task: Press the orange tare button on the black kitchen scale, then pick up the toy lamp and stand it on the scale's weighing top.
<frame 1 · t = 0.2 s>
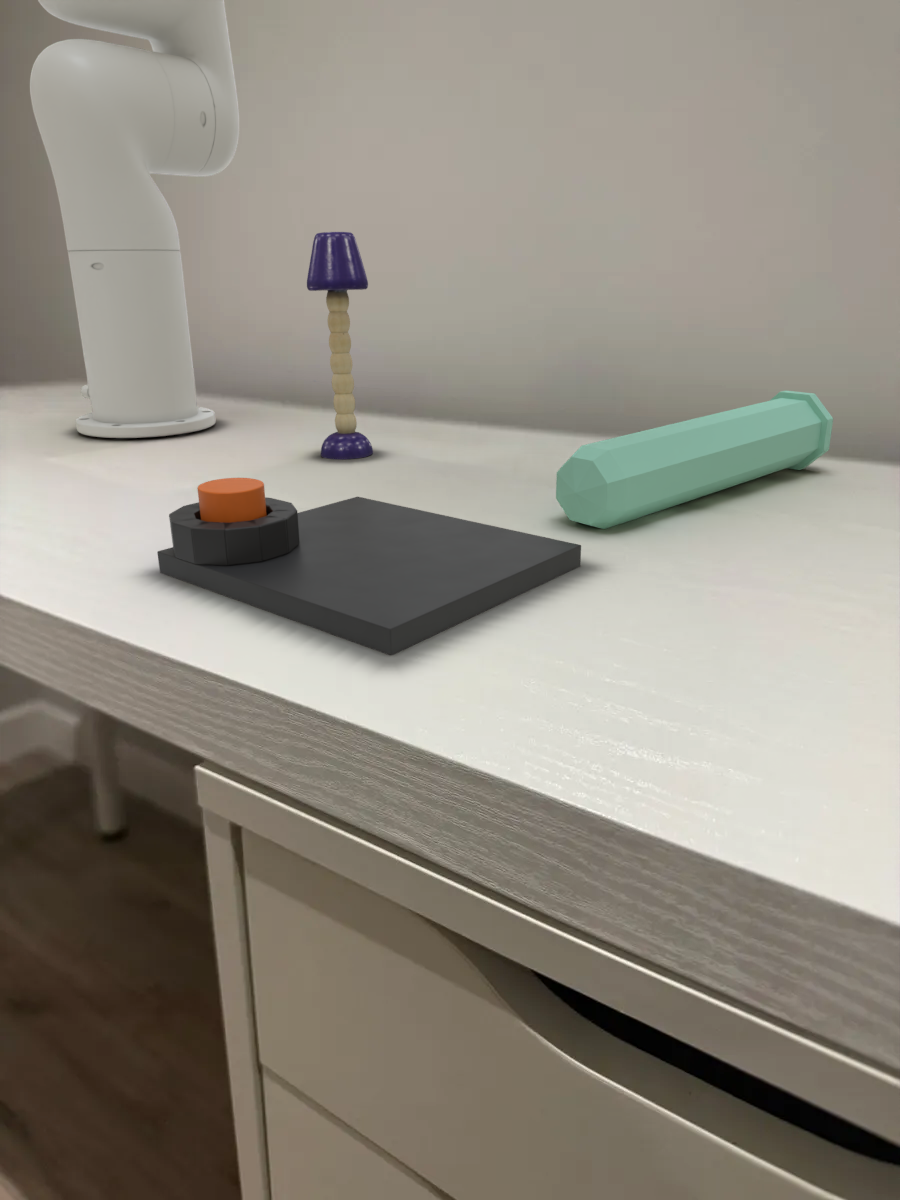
toy lamp: (346, 456, 72), on the table
scale: (371, 570, 44), on the table
container: (695, 497, 58), on the table
tare button: (232, 502, 44), point 3 cm above the table, slide at 0.1 cm
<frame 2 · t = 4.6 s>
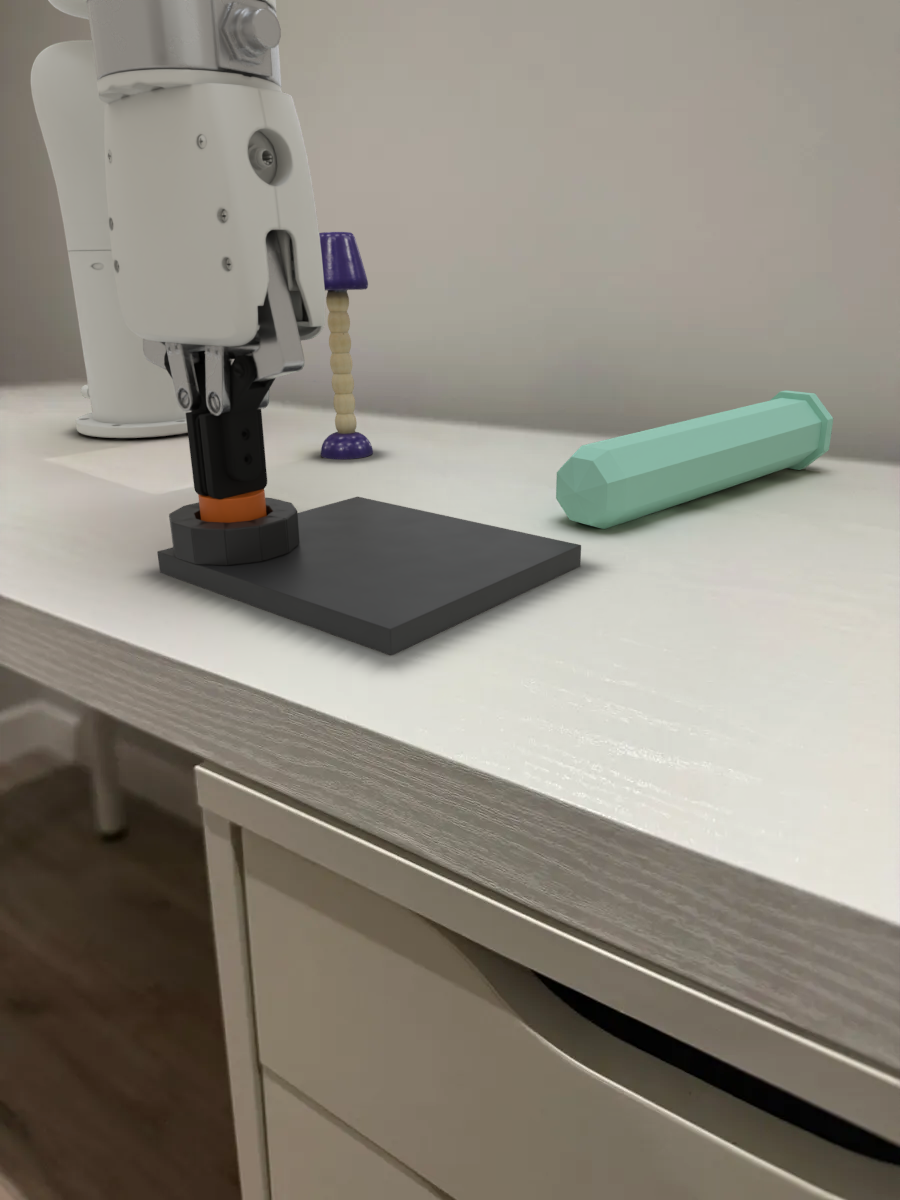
hand: (232, 491, 43), 4 cm above the table, tool pointing down, fingers closed
tare button: (233, 508, 44), point 3 cm above the table, slide at -0.2 cm, touching gripper
everything else where it was.
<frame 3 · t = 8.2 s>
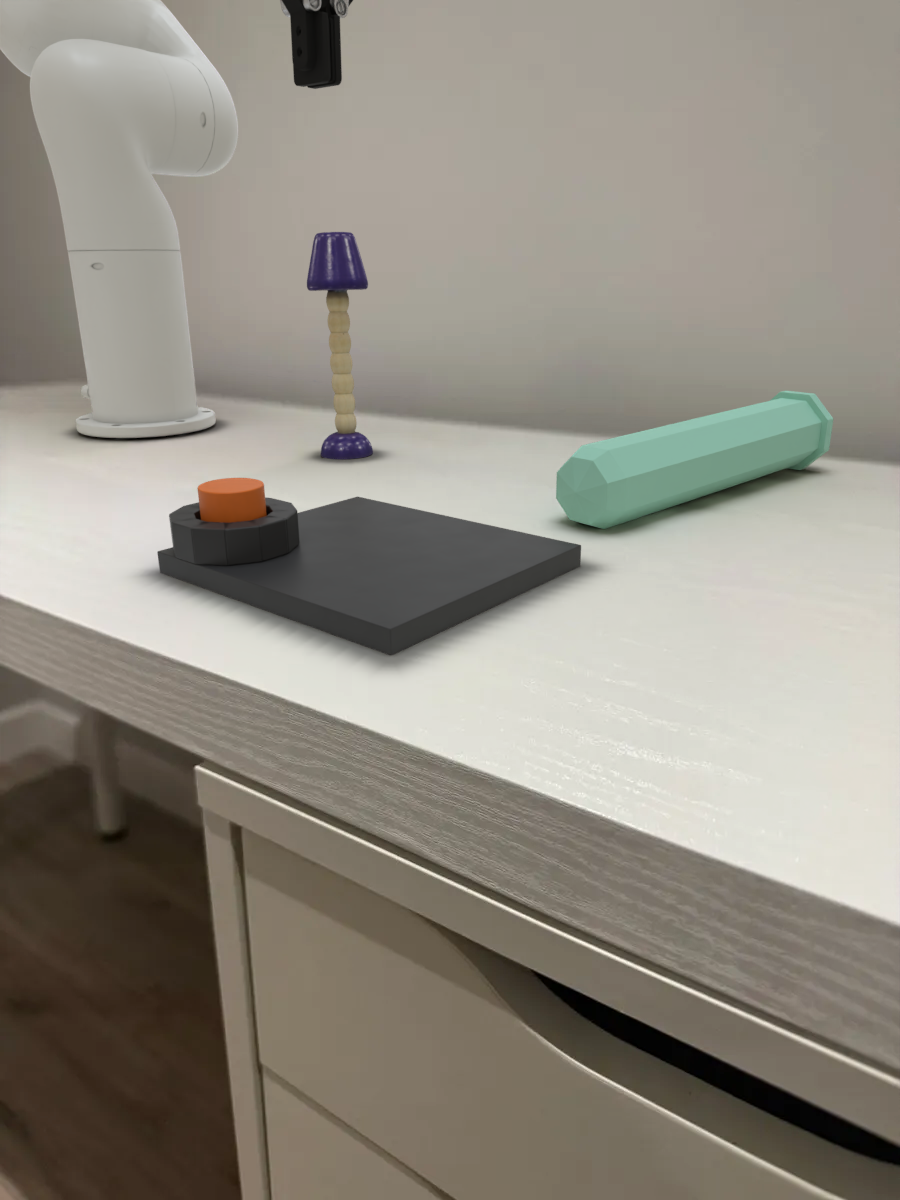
hand: (317, 84, 61), 26 cm above the table, tool pointing down, fingers closed
tare button: (232, 502, 44), point 3 cm above the table, slide at 0.1 cm
everything else where it was.
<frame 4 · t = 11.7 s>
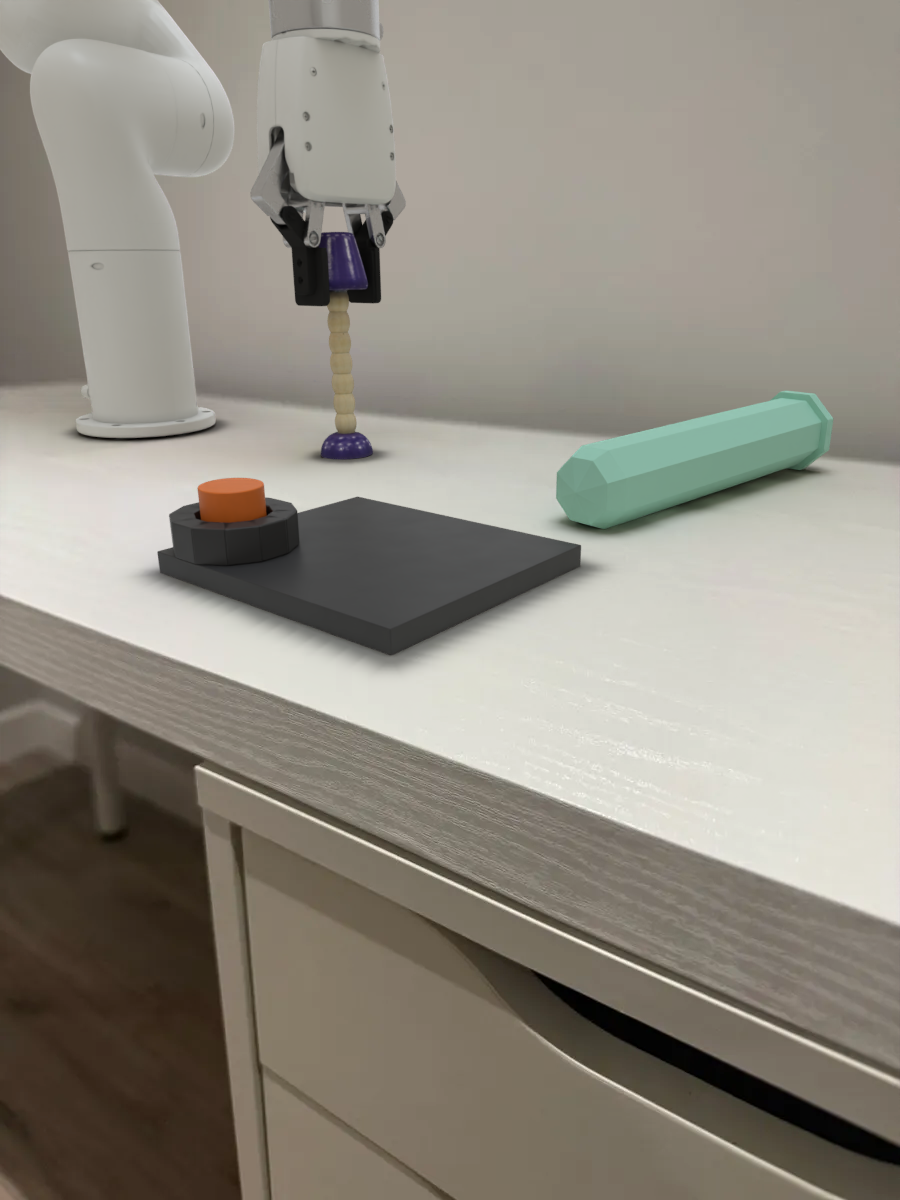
hand: (339, 301, 67), 12 cm above the table, tool pointing down, fingers closed on toy lamp, 4 cm apart
toy lamp: (346, 456, 72), on the table, touching gripper
everything else where it was.
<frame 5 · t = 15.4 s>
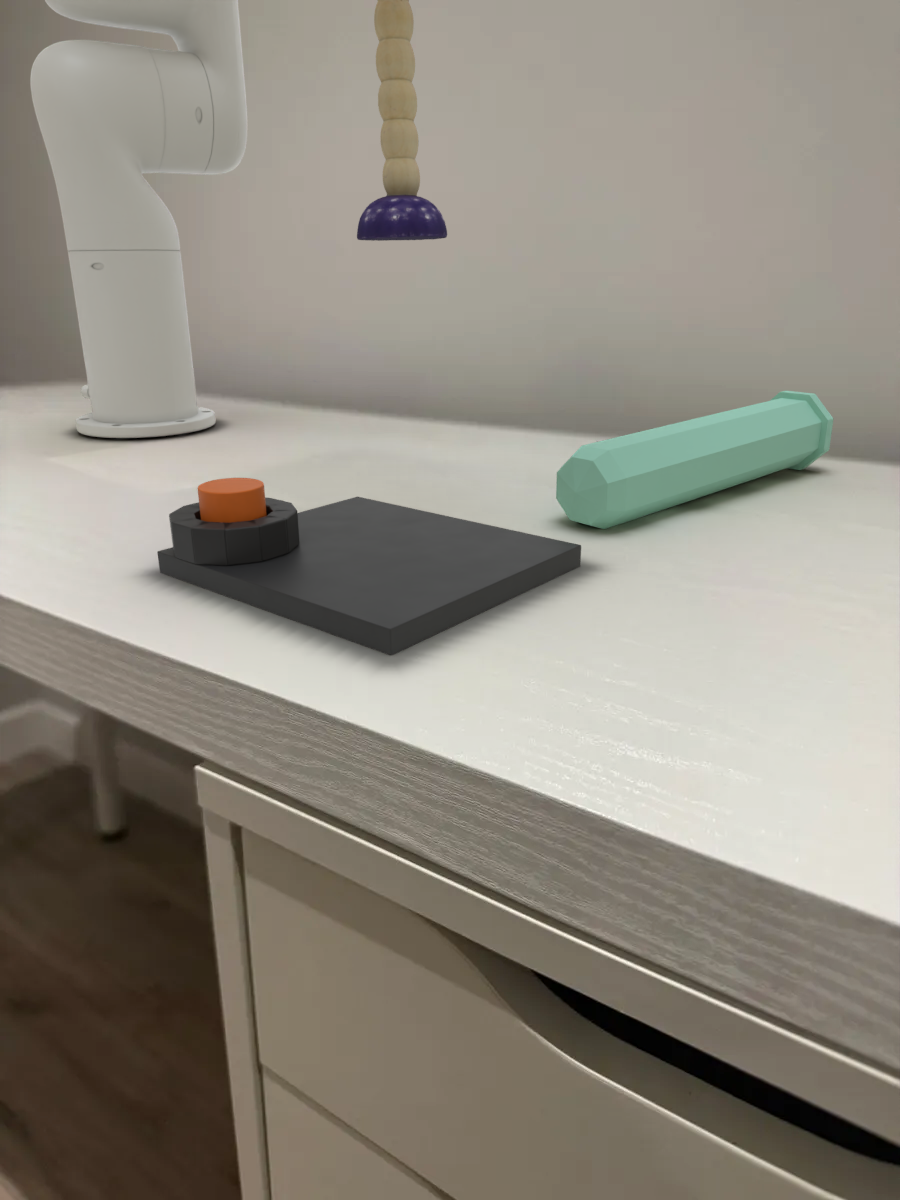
toy lamp: (401, 244, 42), point 15 cm above the table, touching gripper
everything else where it was.
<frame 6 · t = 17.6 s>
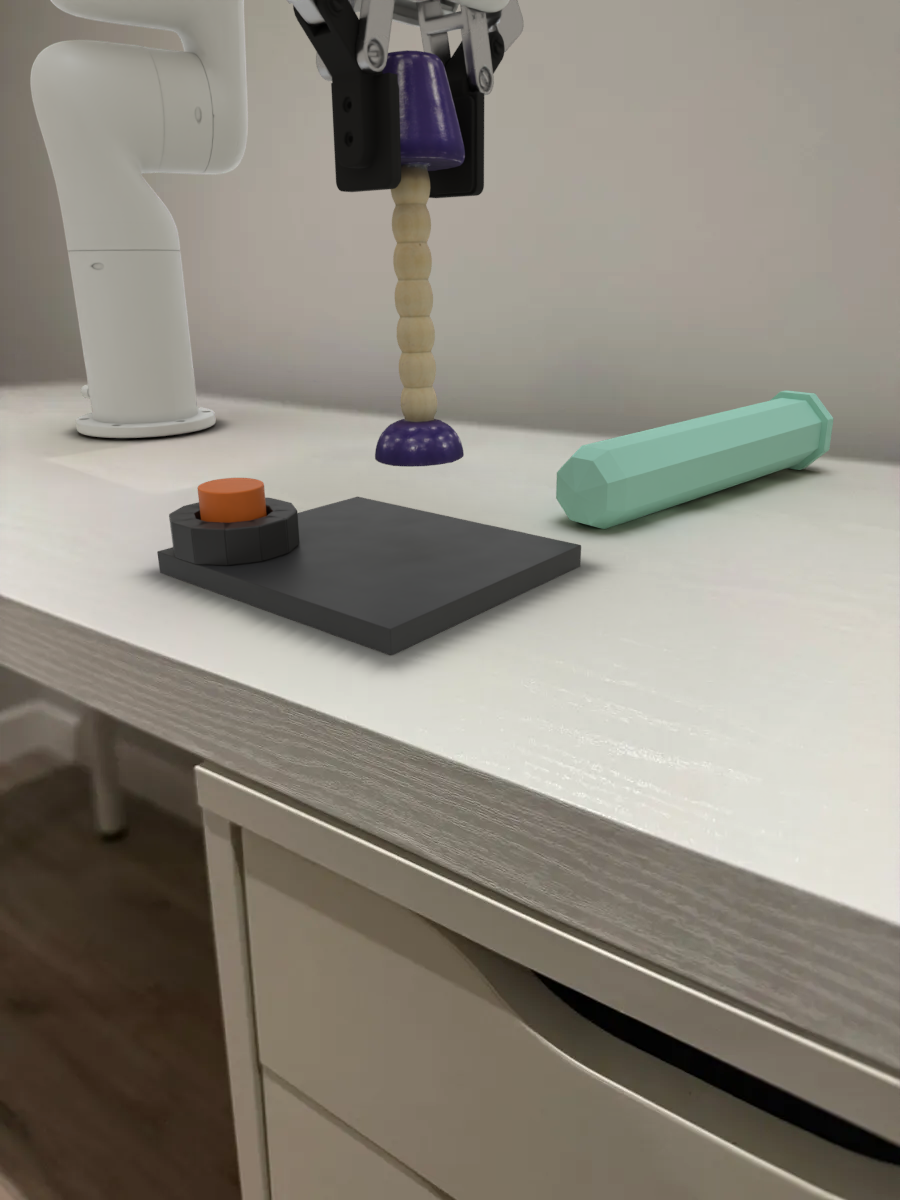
hand: (412, 188, 38), 18 cm above the table, tool pointing down, fingers closed on toy lamp, 4 cm apart
toy lamp: (418, 461, 42), point 6 cm above the table, touching gripper
everything else where it was.
when the fingers open (13 cm above the table, at t = 19.3 s): toy lamp stays where it is, resting on scale.
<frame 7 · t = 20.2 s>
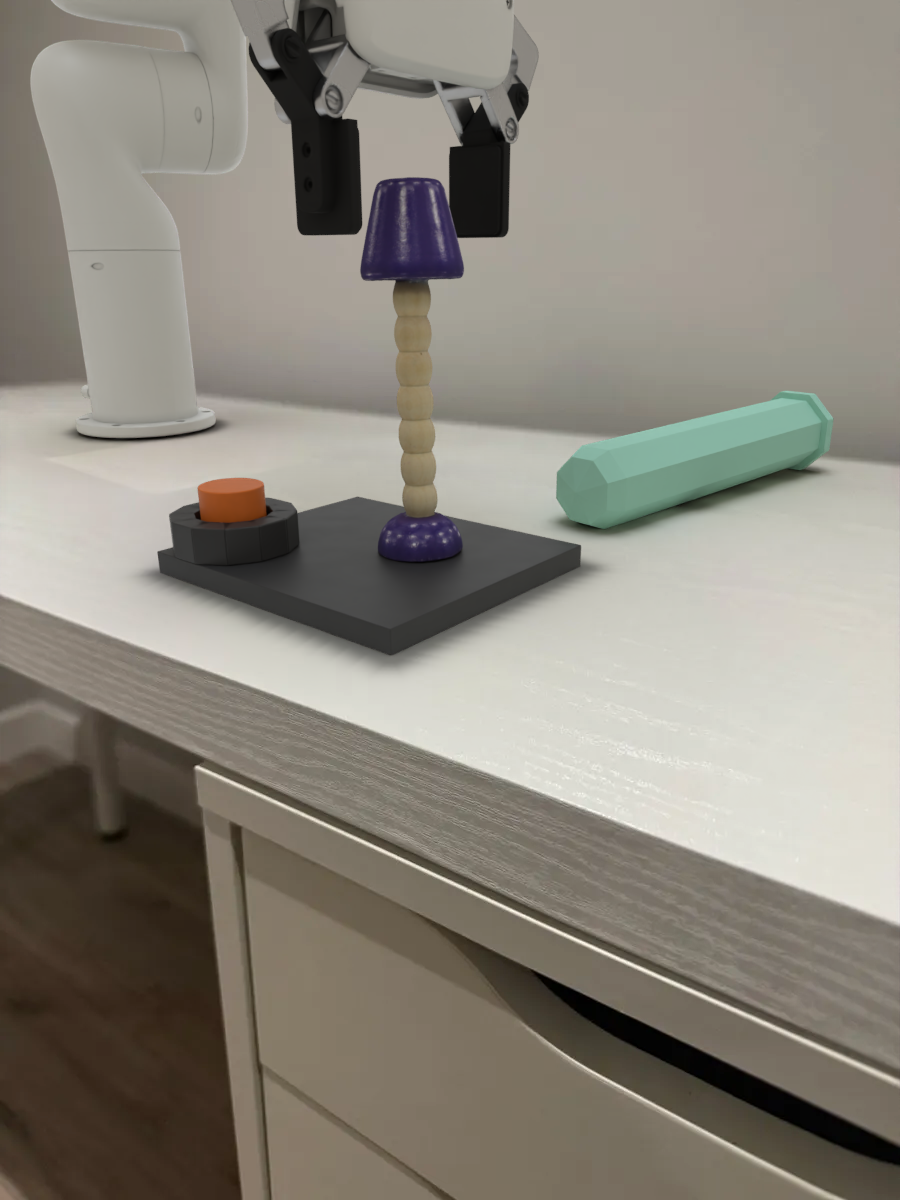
hand: (410, 236, 39), 16 cm above the table, tool pointing down, fingers open, 9 cm apart
toy lamp: (419, 551, 44), point 1 cm above the table, touching scale
everything else where it was.
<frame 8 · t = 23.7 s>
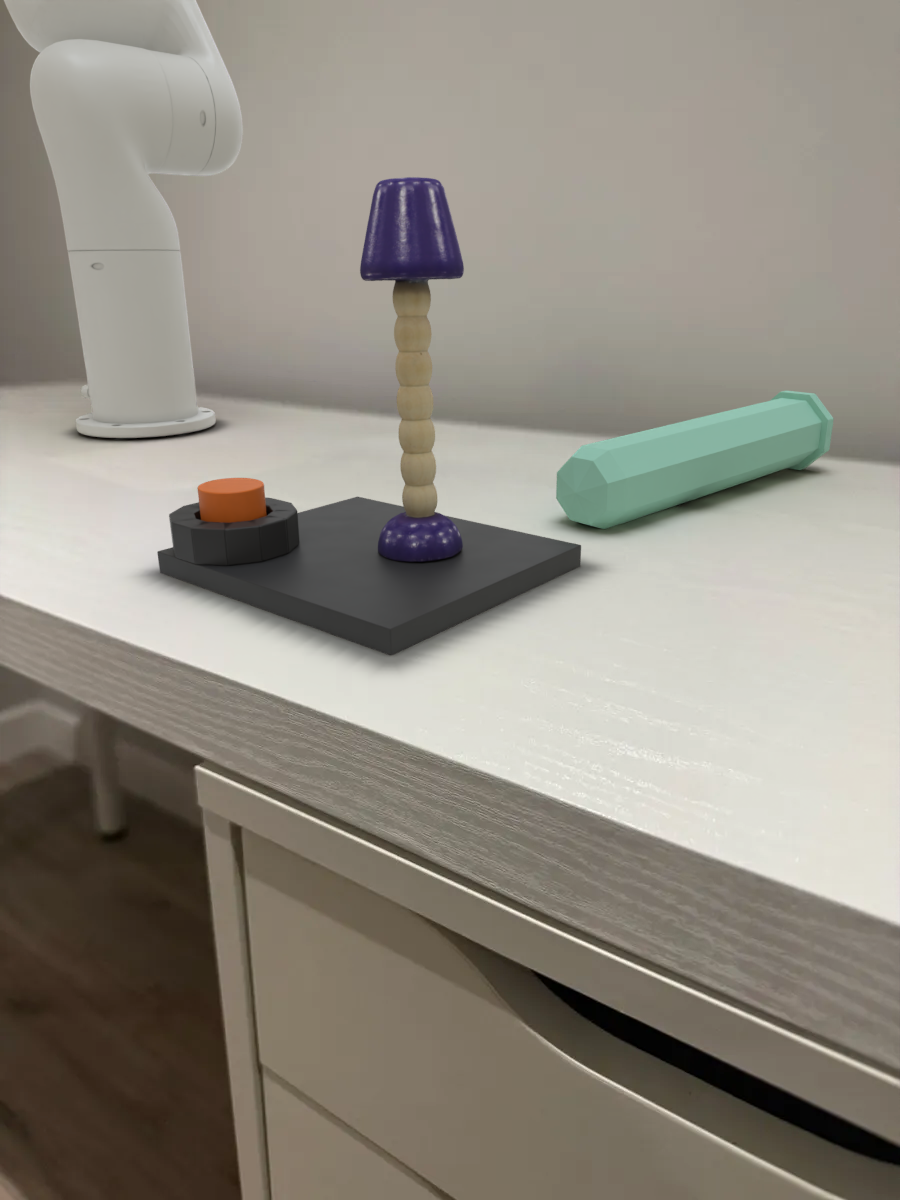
nothing on the table moved.
at the end: tare button pushed in 1.1 cm at the most during the clip, back to where it started at the end; toy lamp touching scale; toy lamp inside the target area on the scale (0.3 cm from its centre), point 1.0 cm above the scale's base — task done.
